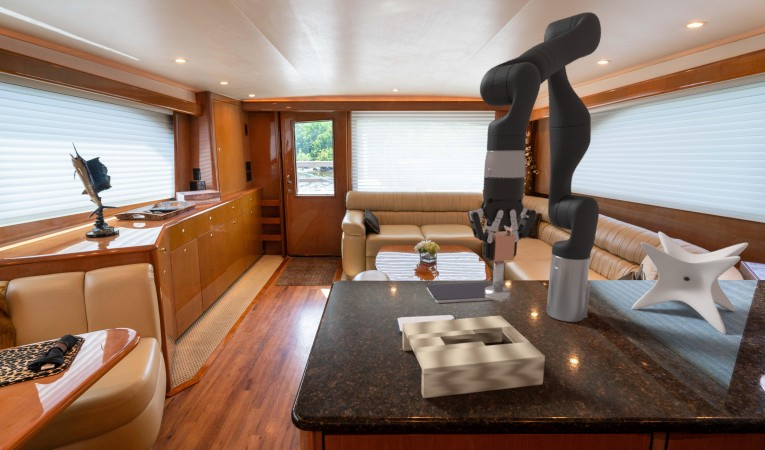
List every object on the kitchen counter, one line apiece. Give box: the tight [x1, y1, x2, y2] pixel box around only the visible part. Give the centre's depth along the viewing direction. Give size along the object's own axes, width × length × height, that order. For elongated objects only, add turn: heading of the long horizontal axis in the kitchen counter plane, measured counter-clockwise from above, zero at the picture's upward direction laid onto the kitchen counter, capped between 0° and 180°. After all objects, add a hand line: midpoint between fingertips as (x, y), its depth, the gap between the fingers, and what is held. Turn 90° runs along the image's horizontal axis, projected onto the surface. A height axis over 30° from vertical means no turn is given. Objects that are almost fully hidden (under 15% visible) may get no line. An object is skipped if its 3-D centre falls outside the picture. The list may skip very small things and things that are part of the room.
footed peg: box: [485, 230, 515, 303], centre depth 75 cm, size 5×5×14 cm
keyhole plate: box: [401, 315, 546, 399], centre depth 77 cm, size 24×18×6 cm
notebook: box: [425, 281, 492, 304], centre depth 117 cm, size 13×2×21 cm
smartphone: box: [395, 314, 457, 337], centre depth 95 cm, size 9×2×16 cm
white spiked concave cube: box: [631, 231, 749, 335], centre depth 102 cm, size 20×20×20 cm
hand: (499, 258), depth 74 cm, fingers closed on footed peg, 4 cm apart
